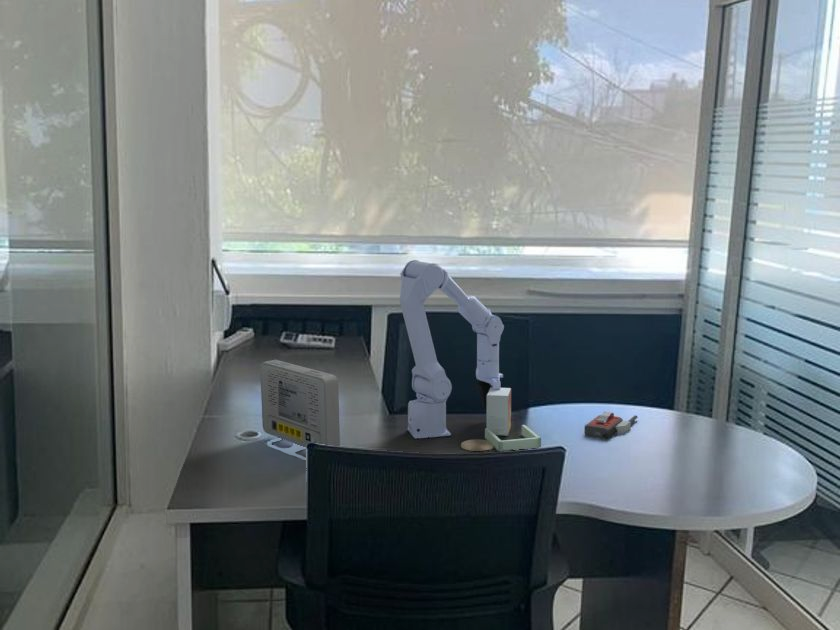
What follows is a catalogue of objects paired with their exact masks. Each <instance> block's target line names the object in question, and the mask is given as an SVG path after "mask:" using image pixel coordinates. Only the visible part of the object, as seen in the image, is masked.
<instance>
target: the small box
mask: <svg viewBox="0 0 840 630" xmlns="http://www.w3.org/2000/svg"><path fill="white" fill-rule="evenodd" d="M485 417H486V428H488V429H489V430H491V431H492V432H493V433H494V434H495V435H496V436H508V435H509V433H510V430H511V426H512V423H511V422H512V421H511V420H512V418H511V417H512V388H511V387H501V389H494V390H493V389H492V387H490V390H489V392H488V394H487V410H486V416H485Z"/></svg>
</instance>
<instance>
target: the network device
mask: <svg viewBox="0 0 840 630" xmlns="http://www.w3.org/2000/svg"><path fill="white" fill-rule="evenodd" d="M259 370H260V373H259V374H260V377H259V378H260V394H261V395H260V397H261V419H262V422H261V423H262V429H263V431H264V433H266V434H268V435H271V436H274V437H275V438H281V439H284V440H283V441H287V442H290V443H292V444H293V443H295V444H297V445H300V446H303V447H306V445H307V444H308V443H319V444H325V445H333V446H340V447H341V437H340V436H341V434H340V433H341V431H340V429H341V428H340V401H339V399H340V395H339V393H340V392H339V380H338V377H337V376H336V374H332V373H327V372H324V371H320V370H316V369H312V368H309V367H304V366H301V365H297V364H293V363H290V362H286V361H283V360H278V359H273V360H267V361H262V362H261V363H260V365H259Z"/></svg>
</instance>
